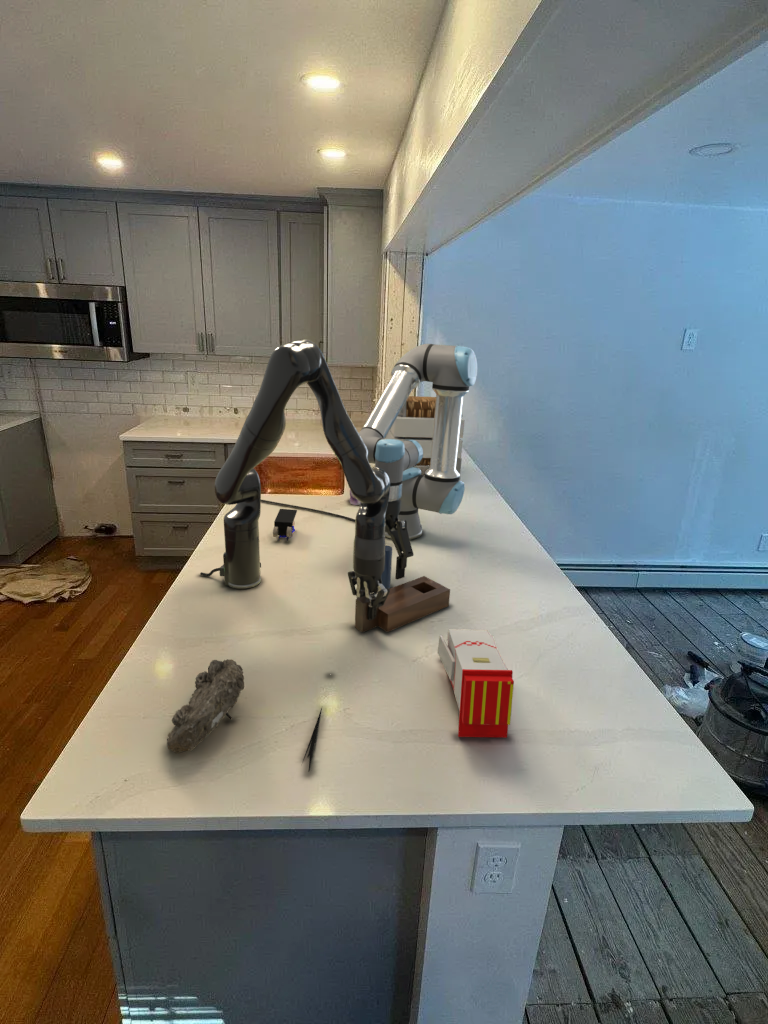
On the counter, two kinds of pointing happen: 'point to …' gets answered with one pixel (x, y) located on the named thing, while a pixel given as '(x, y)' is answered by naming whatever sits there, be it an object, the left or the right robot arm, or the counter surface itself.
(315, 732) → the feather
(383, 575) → the peg
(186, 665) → the counter surface
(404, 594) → the peg block
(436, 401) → the right robot arm
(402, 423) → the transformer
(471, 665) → the toy
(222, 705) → the fossil
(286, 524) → the figurine character
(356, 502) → the figurine
